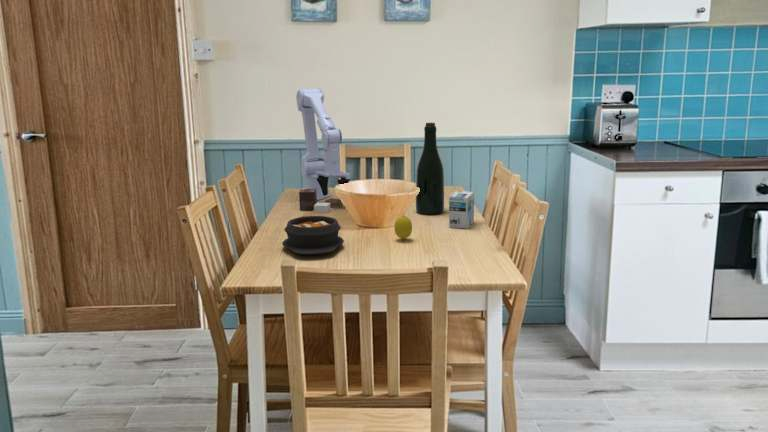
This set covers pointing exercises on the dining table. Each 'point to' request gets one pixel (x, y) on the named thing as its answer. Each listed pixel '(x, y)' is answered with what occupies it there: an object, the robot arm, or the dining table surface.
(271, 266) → the dining table surface
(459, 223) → the light bulb box
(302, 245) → the casserole
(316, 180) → the robot arm
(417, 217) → the dining table surface
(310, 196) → the box
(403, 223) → the lemon
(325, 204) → the grey block
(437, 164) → the wine bottle
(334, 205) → the walnut block
